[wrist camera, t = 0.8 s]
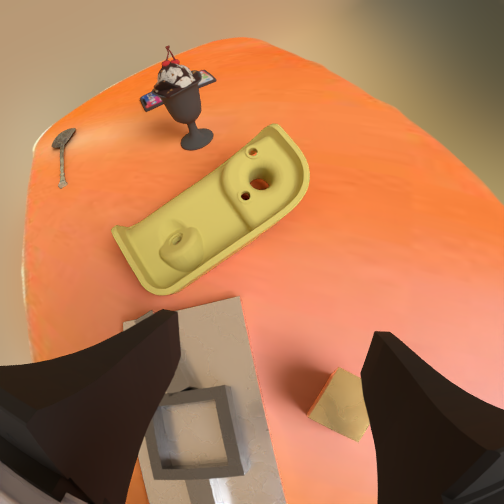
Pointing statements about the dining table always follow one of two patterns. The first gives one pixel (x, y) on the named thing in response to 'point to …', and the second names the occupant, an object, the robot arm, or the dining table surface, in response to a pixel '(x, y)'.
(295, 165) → the plastic component
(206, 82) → the smartphone
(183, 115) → the sundae
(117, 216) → the dining table surface
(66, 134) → the soupspoon
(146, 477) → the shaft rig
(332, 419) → the tan small block
